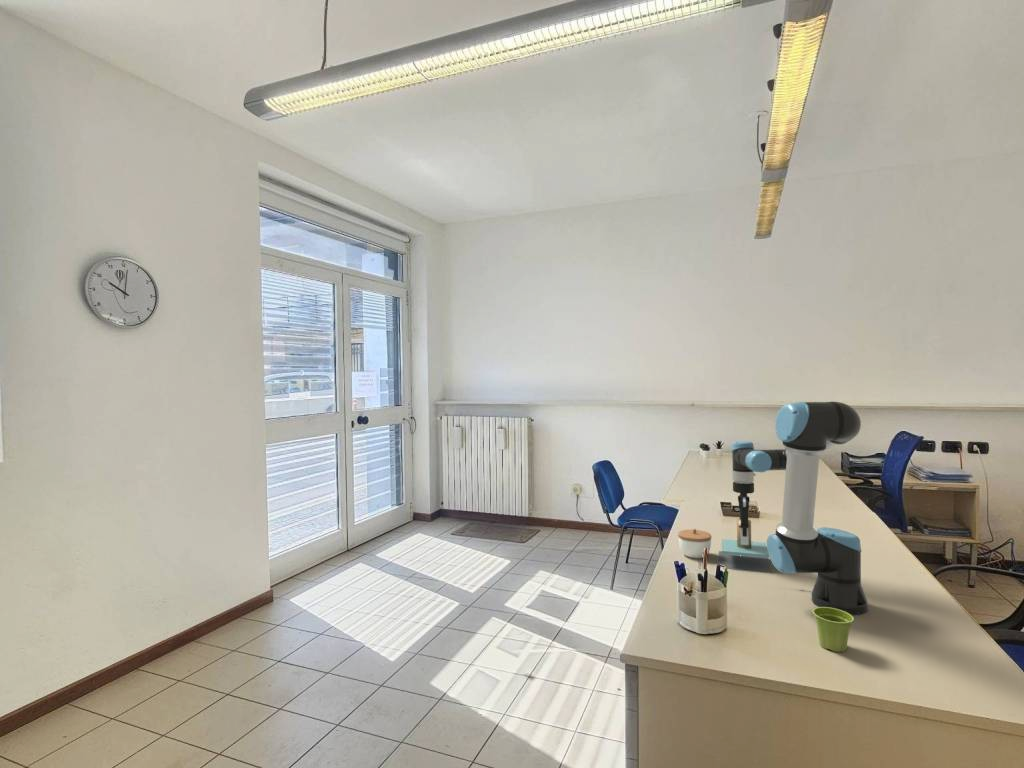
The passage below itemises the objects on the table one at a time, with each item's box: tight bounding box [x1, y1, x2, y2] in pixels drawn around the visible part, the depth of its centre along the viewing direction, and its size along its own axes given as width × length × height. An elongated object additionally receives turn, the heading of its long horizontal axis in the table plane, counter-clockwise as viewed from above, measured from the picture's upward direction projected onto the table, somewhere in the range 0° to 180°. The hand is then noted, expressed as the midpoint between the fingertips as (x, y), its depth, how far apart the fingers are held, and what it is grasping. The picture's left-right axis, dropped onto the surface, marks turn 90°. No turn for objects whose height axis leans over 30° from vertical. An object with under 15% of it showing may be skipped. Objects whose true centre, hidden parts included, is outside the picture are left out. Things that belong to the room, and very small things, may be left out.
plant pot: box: [812, 606, 855, 653], centre depth 144 cm, size 9×9×9 cm
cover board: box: [721, 519, 770, 559], centre depth 208 cm, size 16×16×11 cm
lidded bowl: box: [677, 528, 712, 559], centre depth 216 cm, size 13×13×11 cm
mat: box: [718, 550, 773, 574], centre depth 208 cm, size 20×18×1 cm
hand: (744, 542), depth 208 cm, fingers closed on cover board, 5 cm apart
